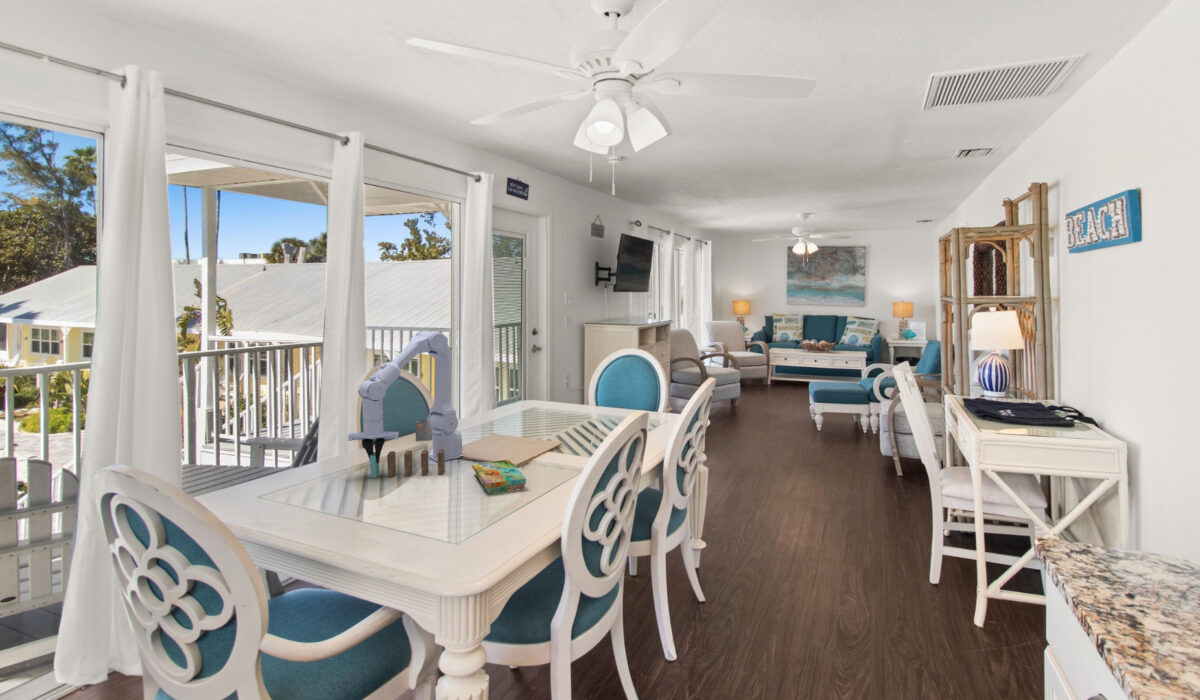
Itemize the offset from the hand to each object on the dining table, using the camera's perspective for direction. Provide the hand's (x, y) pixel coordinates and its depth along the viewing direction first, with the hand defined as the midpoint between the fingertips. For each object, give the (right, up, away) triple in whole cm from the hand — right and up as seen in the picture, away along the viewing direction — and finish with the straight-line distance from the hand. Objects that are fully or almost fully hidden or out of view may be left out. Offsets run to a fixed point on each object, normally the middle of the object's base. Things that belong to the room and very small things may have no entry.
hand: (374, 462), depth 181 cm
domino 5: (+20, -4, +4) cm, 20 cm away
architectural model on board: (+5, 0, +44) cm, 44 cm away
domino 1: (0, -4, 0) cm, 4 cm away
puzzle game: (+39, -6, -5) cm, 40 cm away
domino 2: (+5, -4, +1) cm, 7 cm away
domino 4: (+15, -4, +3) cm, 16 cm away
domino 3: (+10, -4, +2) cm, 11 cm away
